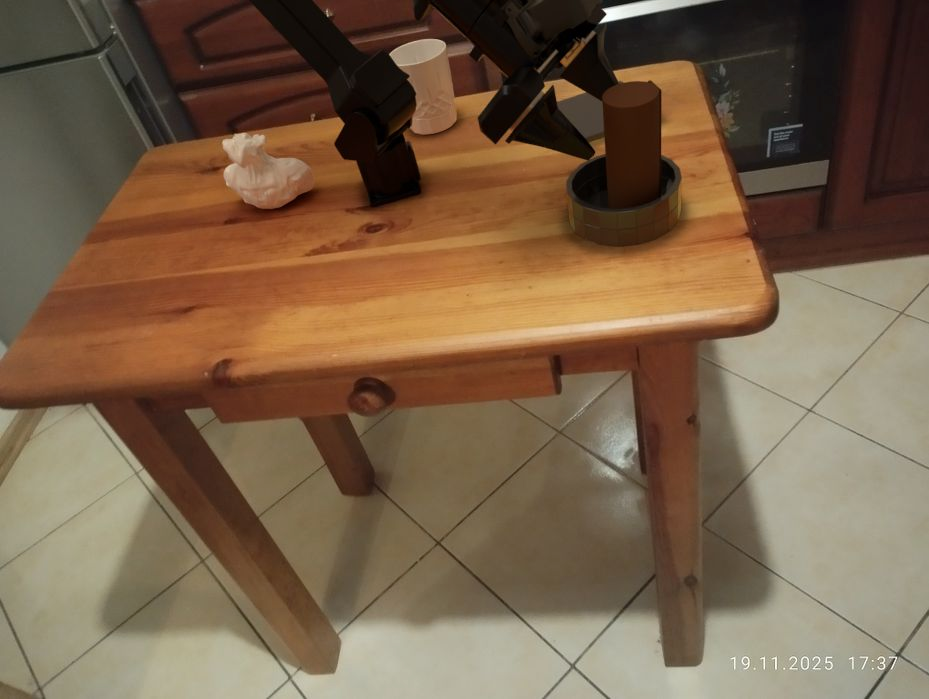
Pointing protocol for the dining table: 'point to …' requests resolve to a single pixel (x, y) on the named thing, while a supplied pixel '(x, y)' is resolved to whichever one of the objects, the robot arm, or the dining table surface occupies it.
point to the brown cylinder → (632, 143)
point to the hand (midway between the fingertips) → (609, 131)
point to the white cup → (428, 84)
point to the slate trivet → (584, 114)
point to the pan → (620, 224)
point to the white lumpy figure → (264, 173)
